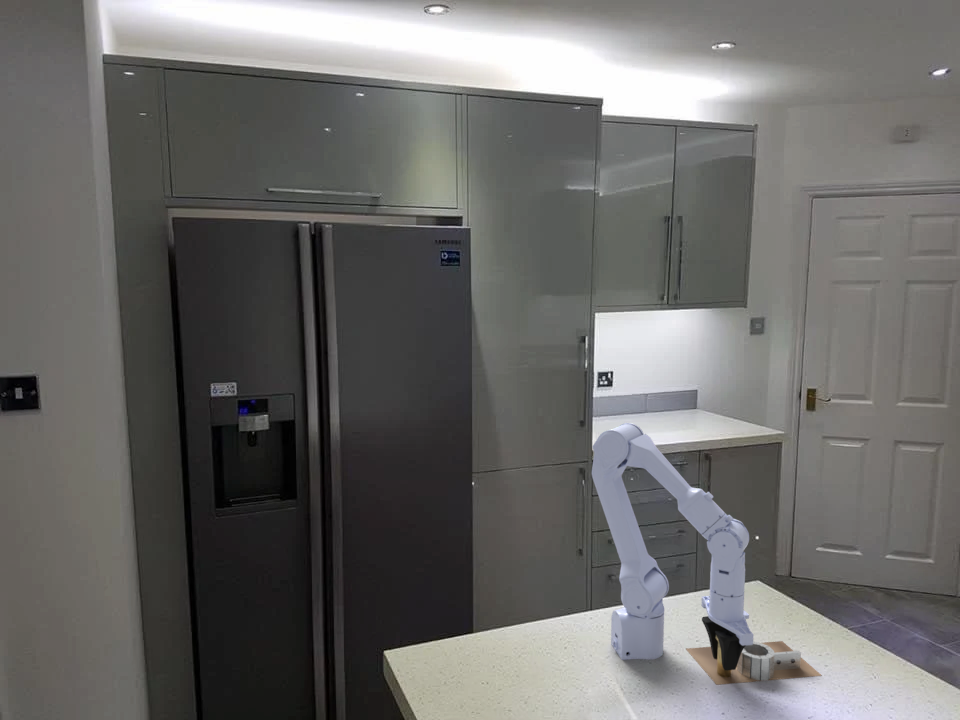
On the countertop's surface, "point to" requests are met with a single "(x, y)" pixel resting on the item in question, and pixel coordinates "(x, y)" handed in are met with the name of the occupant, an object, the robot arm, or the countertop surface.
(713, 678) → the walnut board
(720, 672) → the brass cabinet knob
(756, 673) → the grey winged collar
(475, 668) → the countertop surface
